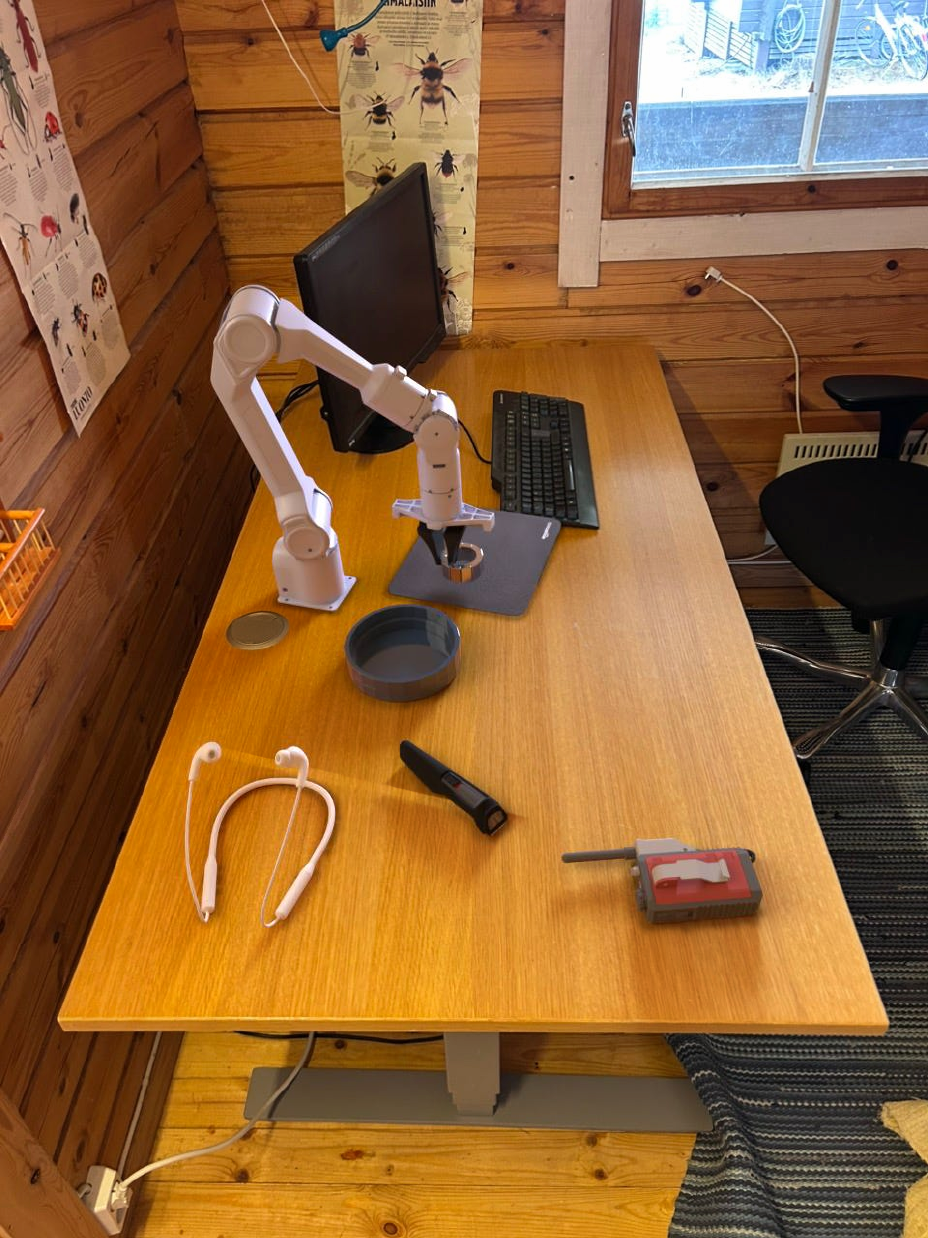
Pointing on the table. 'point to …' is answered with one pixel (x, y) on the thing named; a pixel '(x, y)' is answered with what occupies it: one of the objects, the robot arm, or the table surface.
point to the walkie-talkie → (686, 879)
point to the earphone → (284, 759)
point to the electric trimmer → (454, 788)
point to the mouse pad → (485, 566)
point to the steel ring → (466, 570)
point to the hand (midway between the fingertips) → (446, 561)
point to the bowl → (403, 652)
